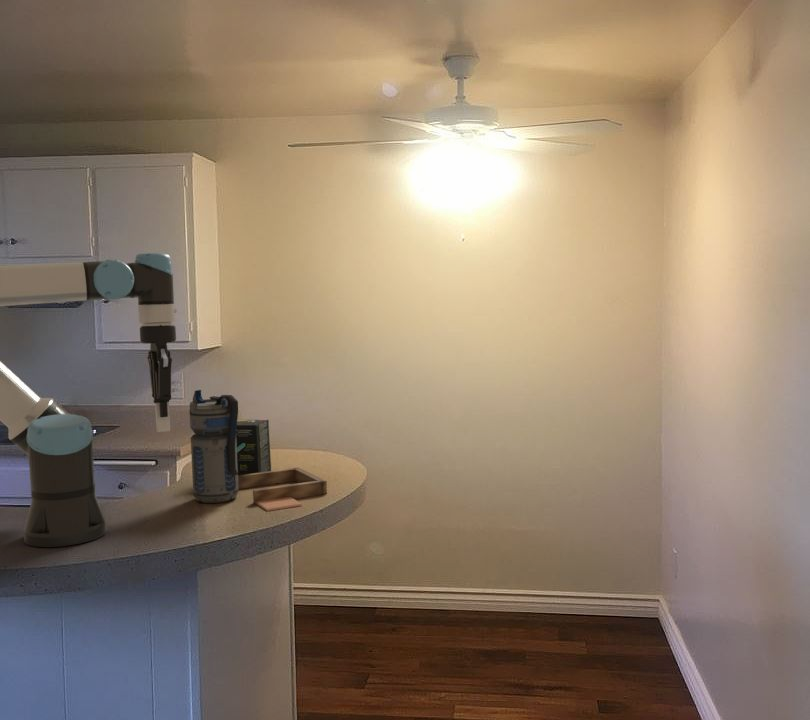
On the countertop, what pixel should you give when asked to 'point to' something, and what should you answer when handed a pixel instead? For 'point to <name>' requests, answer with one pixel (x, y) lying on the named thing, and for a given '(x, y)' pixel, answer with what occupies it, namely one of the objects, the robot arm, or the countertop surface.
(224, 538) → the countertop surface
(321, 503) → the countertop surface
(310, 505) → the countertop surface
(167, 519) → the countertop surface
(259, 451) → the tampon box
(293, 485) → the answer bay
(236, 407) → the beverage bottle
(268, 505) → the tile
